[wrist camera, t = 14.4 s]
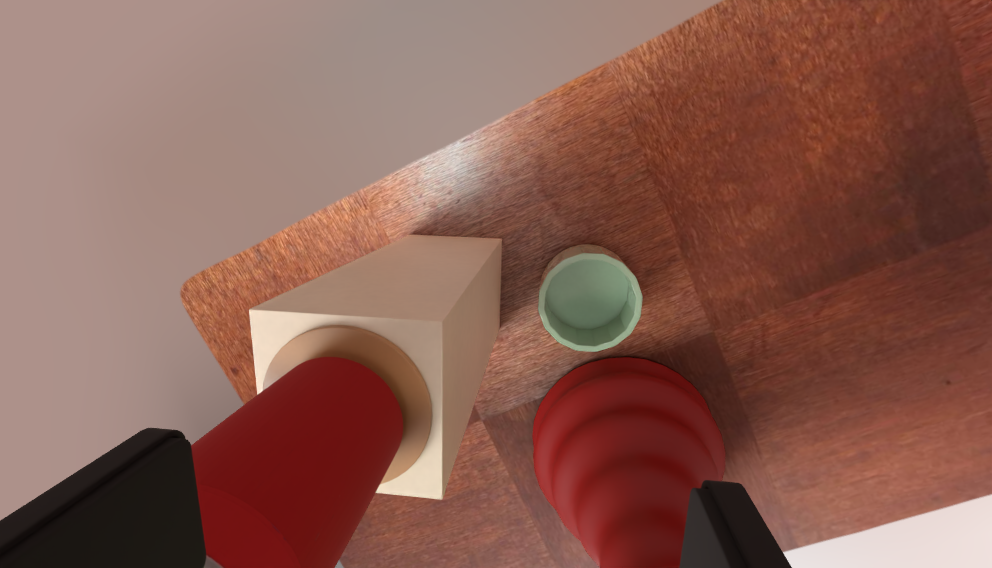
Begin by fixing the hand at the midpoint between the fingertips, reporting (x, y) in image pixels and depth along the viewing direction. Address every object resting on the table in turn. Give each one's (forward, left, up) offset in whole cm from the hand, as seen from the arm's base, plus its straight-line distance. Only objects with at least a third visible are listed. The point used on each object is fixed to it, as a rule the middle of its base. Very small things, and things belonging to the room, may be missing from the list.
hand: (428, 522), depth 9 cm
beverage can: (+6, -8, -14) cm, 17 cm away
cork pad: (+6, -8, -14) cm, 17 cm away
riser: (+6, -8, -42) cm, 43 cm away
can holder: (+6, +6, -42) cm, 43 cm away
